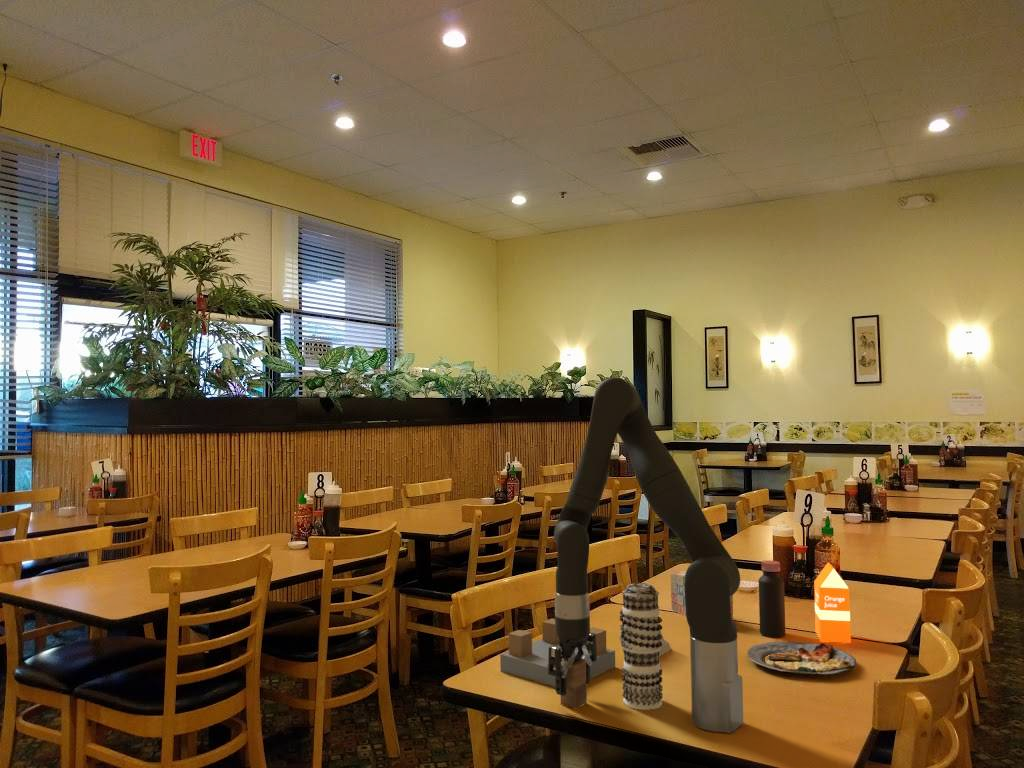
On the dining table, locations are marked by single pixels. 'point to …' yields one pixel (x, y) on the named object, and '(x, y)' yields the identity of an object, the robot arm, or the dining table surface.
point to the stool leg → (575, 685)
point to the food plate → (802, 657)
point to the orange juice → (832, 607)
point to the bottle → (771, 600)
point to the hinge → (664, 647)
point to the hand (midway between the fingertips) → (573, 688)
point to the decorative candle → (641, 647)
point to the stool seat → (534, 655)
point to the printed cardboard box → (683, 593)
